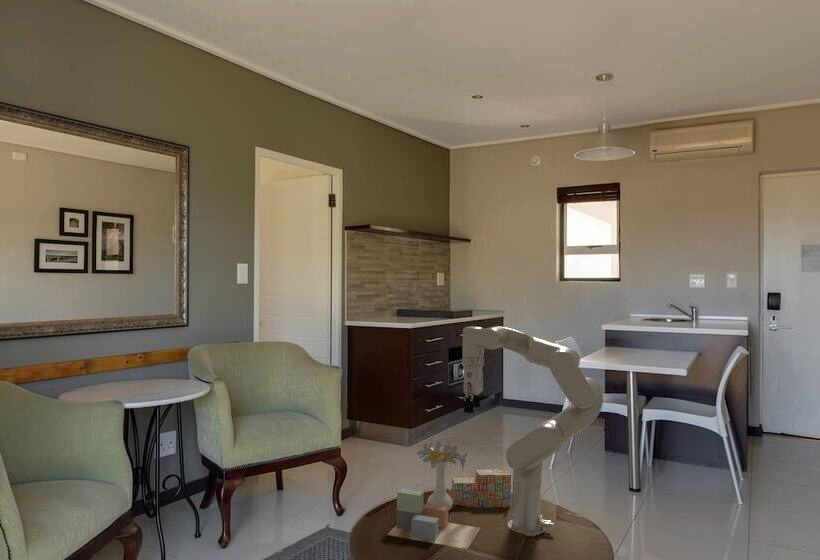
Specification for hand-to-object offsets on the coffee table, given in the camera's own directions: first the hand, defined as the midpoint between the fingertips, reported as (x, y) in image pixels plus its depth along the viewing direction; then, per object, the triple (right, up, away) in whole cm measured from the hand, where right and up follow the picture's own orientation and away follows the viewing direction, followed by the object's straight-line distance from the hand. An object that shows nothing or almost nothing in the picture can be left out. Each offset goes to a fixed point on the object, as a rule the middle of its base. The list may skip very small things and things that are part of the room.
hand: (472, 409), depth 211 cm
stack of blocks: (+5, -39, +13) cm, 41 cm away
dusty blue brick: (-17, -37, -19) cm, 45 cm away
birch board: (-14, -38, -14) cm, 43 cm away
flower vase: (-11, -38, +5) cm, 40 cm away
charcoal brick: (-22, -37, -12) cm, 45 cm away
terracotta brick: (-13, -37, -9) cm, 40 cm away
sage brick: (-22, -31, -12) cm, 40 cm away
